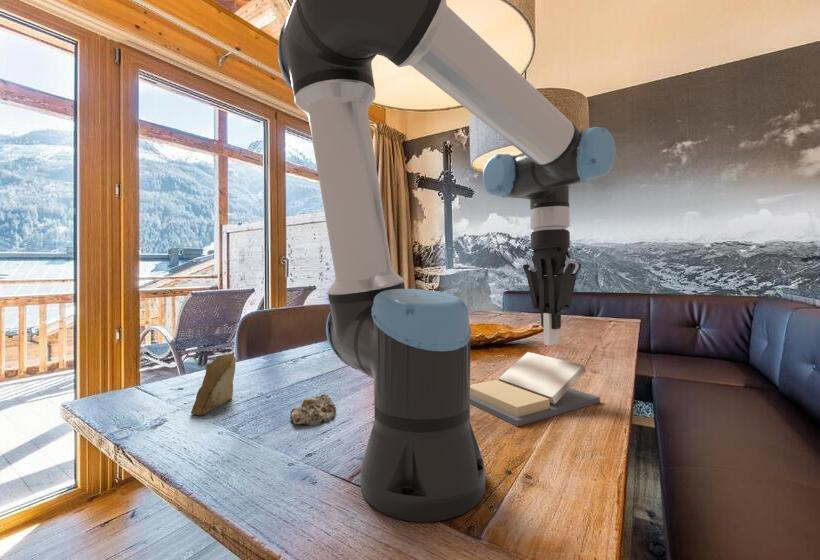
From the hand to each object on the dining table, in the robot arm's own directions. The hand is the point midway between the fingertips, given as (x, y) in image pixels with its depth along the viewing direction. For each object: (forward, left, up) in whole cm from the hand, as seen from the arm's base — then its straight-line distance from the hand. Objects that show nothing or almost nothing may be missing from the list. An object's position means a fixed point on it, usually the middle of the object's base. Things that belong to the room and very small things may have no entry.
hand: (551, 344), depth 77 cm
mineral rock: (-45, +14, -11) cm, 49 cm away
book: (-3, 0, -7) cm, 7 cm away
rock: (-62, +30, -11) cm, 70 cm away
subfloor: (-7, 0, -11) cm, 12 cm away
